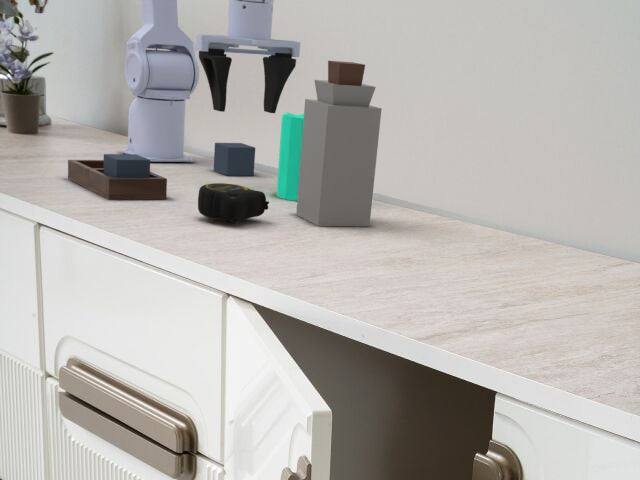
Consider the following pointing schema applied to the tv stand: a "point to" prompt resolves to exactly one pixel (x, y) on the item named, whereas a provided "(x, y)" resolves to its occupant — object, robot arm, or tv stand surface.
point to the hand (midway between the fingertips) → (244, 111)
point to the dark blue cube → (126, 166)
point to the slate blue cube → (234, 159)
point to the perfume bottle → (339, 149)
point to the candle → (290, 156)
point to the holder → (115, 182)
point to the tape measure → (230, 202)
